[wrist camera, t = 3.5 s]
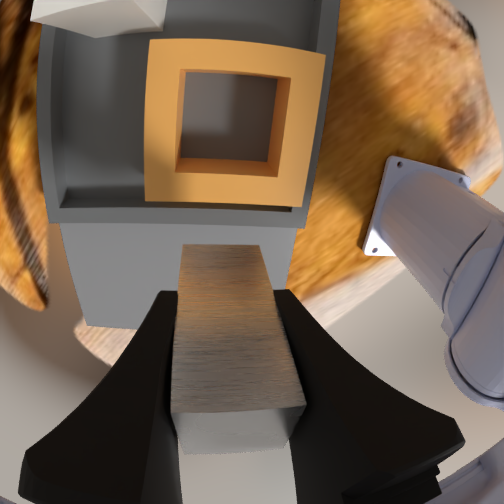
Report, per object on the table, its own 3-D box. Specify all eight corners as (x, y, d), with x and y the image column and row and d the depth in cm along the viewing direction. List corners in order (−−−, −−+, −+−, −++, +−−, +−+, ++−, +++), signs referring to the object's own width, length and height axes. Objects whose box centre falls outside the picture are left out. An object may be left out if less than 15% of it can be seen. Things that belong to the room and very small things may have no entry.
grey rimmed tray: (328, -40, 10) (355, -61, 7) (294, 211, 20) (312, 241, 16) (76, -41, 8) (50, -60, 5) (64, 207, 17) (38, 235, 14)
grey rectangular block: (259, 244, 12) (306, 404, 6) (252, 301, 13) (283, 448, 7) (182, 244, 11) (170, 412, 5) (185, 302, 13) (183, 454, 7)
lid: (295, 206, 20) (300, 213, 19) (272, 320, 25) (275, 331, 24) (63, 201, 17) (56, 208, 16) (90, 315, 22) (87, 325, 21)
